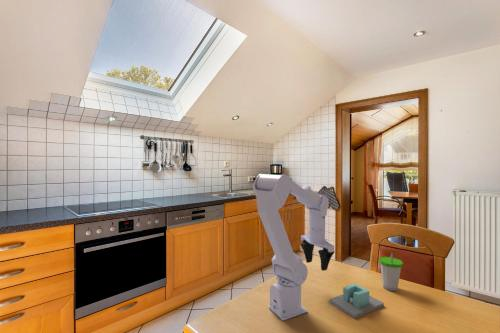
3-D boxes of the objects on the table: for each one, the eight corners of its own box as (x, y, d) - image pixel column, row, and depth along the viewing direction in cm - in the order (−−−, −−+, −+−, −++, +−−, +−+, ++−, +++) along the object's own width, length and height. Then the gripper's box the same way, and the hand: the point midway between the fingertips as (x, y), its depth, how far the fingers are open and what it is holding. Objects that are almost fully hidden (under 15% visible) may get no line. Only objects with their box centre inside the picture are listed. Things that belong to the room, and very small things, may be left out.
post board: (354, 318, 75) (354, 307, 74) (328, 302, 83) (329, 291, 83) (383, 306, 81) (383, 295, 81) (357, 292, 90) (357, 282, 90)
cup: (384, 281, 98) (384, 243, 98) (406, 289, 92) (406, 248, 92) (374, 287, 93) (374, 247, 93) (397, 296, 87) (397, 253, 87)
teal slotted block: (354, 295, 86) (354, 283, 86) (369, 303, 81) (369, 290, 81) (343, 299, 83) (343, 287, 83) (357, 307, 78) (357, 295, 78)
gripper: (340, 231, 85) (340, 271, 85) (311, 222, 98) (310, 257, 98) (325, 234, 82) (325, 275, 82) (296, 224, 94) (296, 260, 95)
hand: (316, 265), depth 90 cm, fingers open, 7 cm apart
